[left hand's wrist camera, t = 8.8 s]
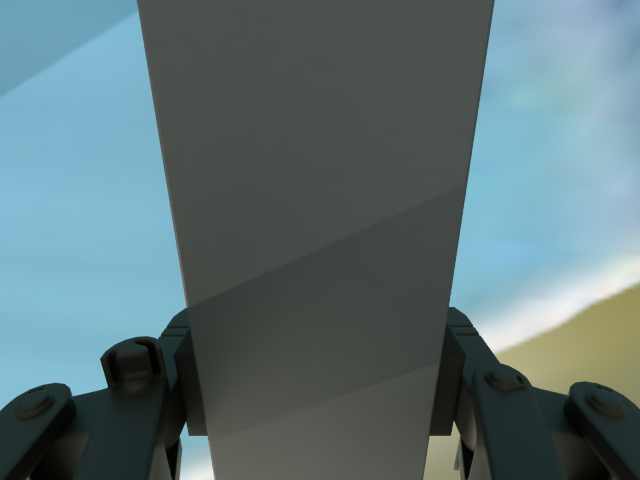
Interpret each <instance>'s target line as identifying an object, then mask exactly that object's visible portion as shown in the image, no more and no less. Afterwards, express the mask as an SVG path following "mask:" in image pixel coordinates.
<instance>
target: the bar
mask: <svg viewBox="0 0 640 480" xmlns="http://www.w3.org/2000/svg"><path fill="white" fill-rule="evenodd" d="M494 1H495V0H137V3H138V10H139V16H140V22H141V28H142V34H143V40H144V47H145V53H146V59H147V65H148V71H149V77H150V83H151V90H152V96H153V102H154V108H155V114H156V120H157V127H158V133H159V139H160V145H161V151H162V157H163V164H164V170H165V176H166V182H167V188H168V194H169V201H170V207H171V213H172V219H173V225H174V231H175V237H176V244H177V250H178V256H179V262H180V268H181V274H182V281H183V287H184V293H185V299H186V305H187V311H188V318H189V324H190V330H191V336H192V342H193V348H194V355H195V361H196V367H197V373H198V379H199V385H200V391H201V398H202V404H203V410H204V416H205V422H206V428H207V435H208V441H209V447H210V453H211V459H212V465H213V472H214V478H215V480H423V475H424V469H425V462H426V455H427V449H428V442H429V435H430V429H431V422H432V415H433V409H434V402H435V395H436V389H437V382H438V375H439V368H440V362H441V355H442V348H443V342H444V335H445V328H446V322H447V315H448V308H449V302H450V295H451V288H452V282H453V275H454V268H455V261H456V255H457V248H458V241H459V235H460V228H461V221H462V215H463V208H464V201H465V195H466V188H467V181H468V175H469V168H470V161H471V154H472V148H473V141H474V134H475V128H476V121H477V114H478V108H479V101H480V94H481V88H482V81H483V74H484V68H485V61H486V54H487V47H488V41H489V34H490V27H491V21H492V14H493V7H494Z"/></svg>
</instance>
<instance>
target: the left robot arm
mask: <svg viewBox="0 0 640 480" xmlns="http://www.w3.org/2000/svg"><path fill="white" fill-rule="evenodd" d="M100 360H101V364H102V367H103V371H104V374H105V377H106V381H107V384H108V388H106V389H102V390H99V391H95V392H90V393H86V394H82V395H77V396H72V393H71V390H70V388H69V387H68V386H66V385H65V384H60V383H52V384H45V385H41V386H39V387H36V388H33V389H30V390H28V391H27V392H25V393H23V394H21V395H19V396H17V397H16V398H15V399H13V400H12V401H11V402H10V403H8V404H7V405H6V406H5V407H4V408H3V409H2V410H1V411H0V480H179V477H180V466H181V455H182V446H181V440H180V434H181V432H182V429H183V427H184V425H185V422H186V423H187V428H188V433H189V436H208V435H207V428H206V422H205V416H204V410H203V404H202V398H201V391H200V385H199V379H198V373H197V367H196V361H195V355H194V348H193V342H192V336H191V330H190V324H189V318H188V311H187V308H185V309H184V310H182V311H181V312H180V313H178V314H177V315H175V316H174V317H173V318H172V320H171V321H170V323H169V324H168V325H167V328H165V330H164V331H163V332H162V334H161V337H159V338H158V340H157V339H156V338H152V337H148V336H145V337H135V338H131V339H127V340H124V341H122V342H120V343H118V344H116V345H114V346H113V347H111V348H110V349H108V350H107V351H106V352H105V353H104V354H103V356H102V357H101V358H100ZM453 421H454V422H455V424H456V426H457V428H458V431H459V433H460V440H459V445H458V450H457V455H456V459H455V465H454V470H459V465H460V476H461V480H640V409H639V408H638V407H637V406H636V405H635V404H634V403H632V402H631V401H630V400H629V399H627V398H626V397H625V396H624V395H622V394H620V393H618V392H616V391H615V390H613V389H611V388H608V387H606V386H603V385H600V384H597V383H591V382H585V381H584V382H576V383H574V384H573V385H572V386H571V387H570V389H569V392H568V395H564V394H560V393H556V392H551V391H547V390H543V389H539V388H535V387H532V385H531V384H530V382H529V381H528V379H527V378H526V377H525V376H524V375H523V374H521V373H520V372H519V371H517V370H515V369H513V368H512V367H510V366H508V365H504V364H501V363H500V362H499V361H498V360H497V358H496V357H495V355H494V354H493V353H492V351H491V350H490V348H489V347H488V346H487V344H486V343H485V341H484V340H483V339H482V337H481V336H479V333H478V332H477V330H476V329H475V327H473V325H472V323H471V322H470V320H469V319H468V318H467V316H466V315H465V314H463V313H462V312H460V311H459V310H458V309H456V308H455V307H449V308H448V315H447V322H446V328H445V335H444V342H443V348H442V355H441V362H440V368H439V375H438V382H437V389H436V395H435V402H434V409H433V415H432V422H431V429H430V435H429V436H451V432H452V426H453Z"/></svg>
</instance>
